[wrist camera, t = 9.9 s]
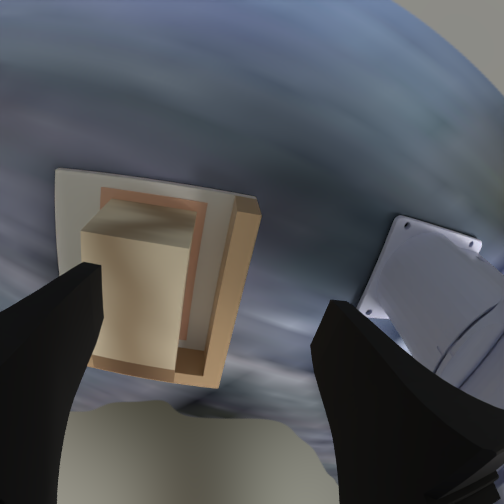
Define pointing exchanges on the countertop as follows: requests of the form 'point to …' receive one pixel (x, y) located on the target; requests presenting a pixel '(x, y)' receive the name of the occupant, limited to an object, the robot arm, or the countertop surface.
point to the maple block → (140, 284)
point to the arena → (200, 264)
